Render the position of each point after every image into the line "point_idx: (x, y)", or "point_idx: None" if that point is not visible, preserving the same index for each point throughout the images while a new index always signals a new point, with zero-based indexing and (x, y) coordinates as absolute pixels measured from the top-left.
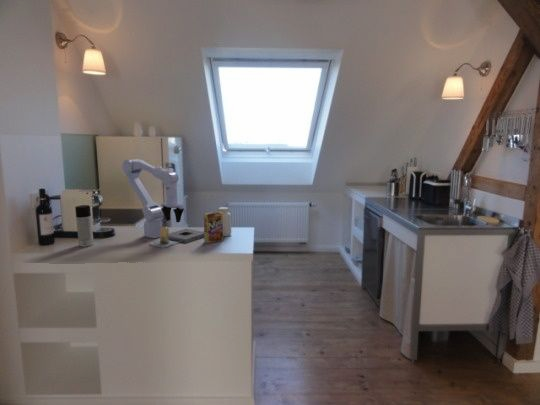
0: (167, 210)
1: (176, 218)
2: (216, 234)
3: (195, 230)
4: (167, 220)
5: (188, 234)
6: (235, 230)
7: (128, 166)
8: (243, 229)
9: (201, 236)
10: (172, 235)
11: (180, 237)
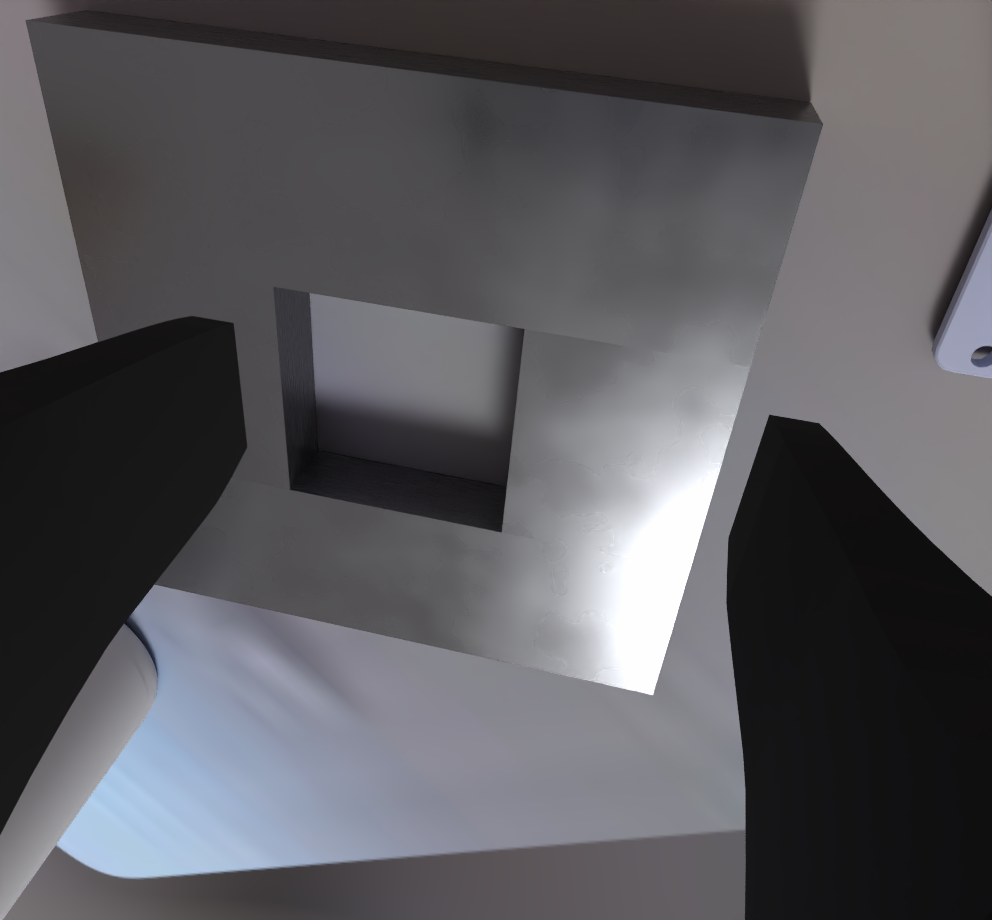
0: (825, 888)
1: (78, 357)
2: None
3: (406, 635)
4: (767, 437)
5: (444, 490)
6: (130, 800)
7: None
8: (100, 836)
9: None
10: (559, 183)
11: (251, 109)
